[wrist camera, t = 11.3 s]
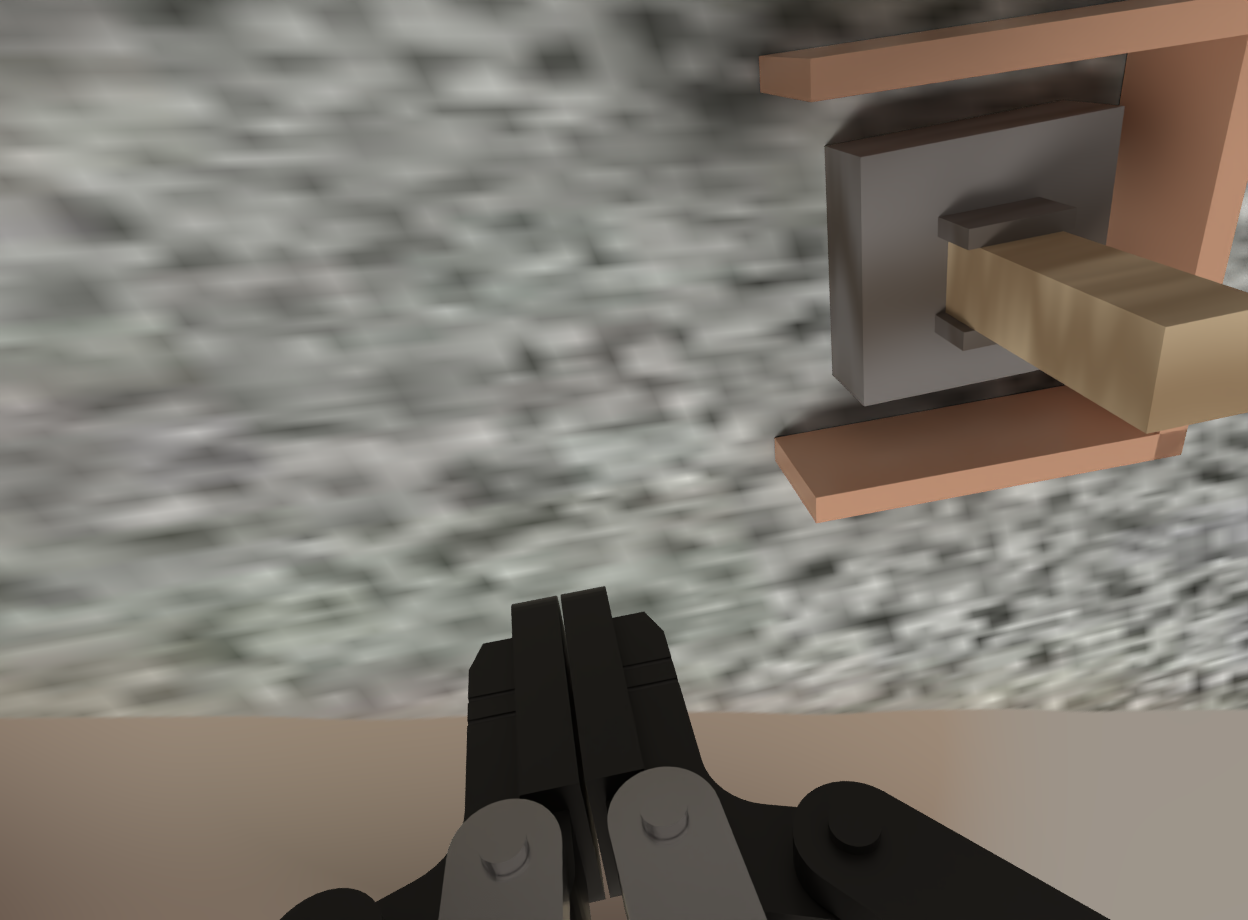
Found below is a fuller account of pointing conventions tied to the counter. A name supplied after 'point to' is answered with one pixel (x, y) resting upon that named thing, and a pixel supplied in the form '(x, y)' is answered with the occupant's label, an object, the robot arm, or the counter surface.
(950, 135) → the mounted wooden block
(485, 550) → the counter surface
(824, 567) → the counter surface
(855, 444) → the three-sided wooden frame
